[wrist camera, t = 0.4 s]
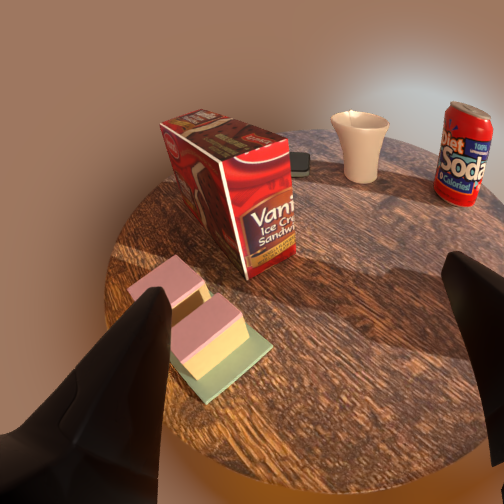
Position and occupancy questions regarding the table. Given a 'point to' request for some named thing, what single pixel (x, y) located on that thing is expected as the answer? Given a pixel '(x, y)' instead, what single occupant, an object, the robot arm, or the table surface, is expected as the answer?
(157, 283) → the cake
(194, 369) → the cake slice
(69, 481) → the robot arm
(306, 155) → the smartphone
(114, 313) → the table surface
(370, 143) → the cup
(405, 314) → the table surface
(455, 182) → the soda can
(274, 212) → the ice cream box
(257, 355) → the cake plate
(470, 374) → the table surface
